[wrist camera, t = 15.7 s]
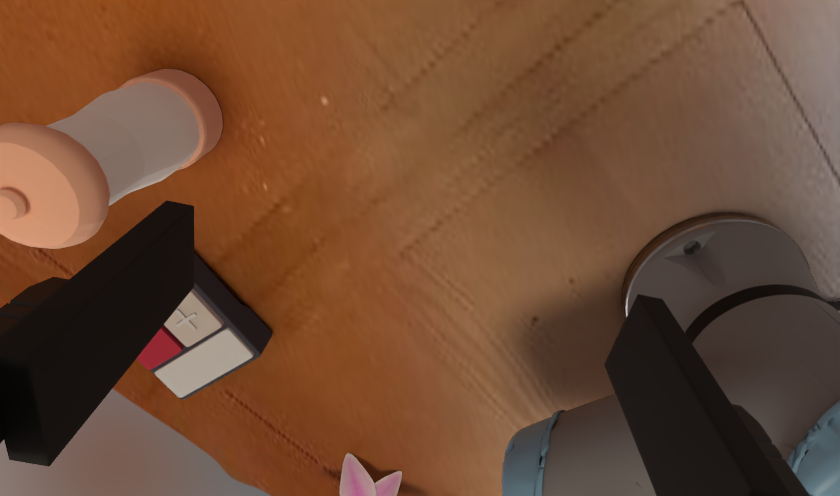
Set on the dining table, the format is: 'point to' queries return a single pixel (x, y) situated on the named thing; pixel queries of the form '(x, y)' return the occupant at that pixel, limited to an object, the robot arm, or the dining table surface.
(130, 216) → the dining table surface
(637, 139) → the dining table surface
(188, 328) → the calculator
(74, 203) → the salt shaker
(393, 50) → the dining table surface
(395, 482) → the lily
